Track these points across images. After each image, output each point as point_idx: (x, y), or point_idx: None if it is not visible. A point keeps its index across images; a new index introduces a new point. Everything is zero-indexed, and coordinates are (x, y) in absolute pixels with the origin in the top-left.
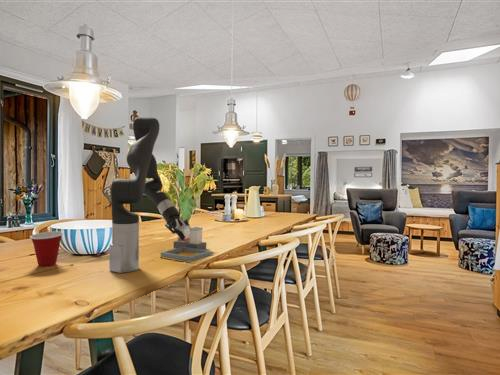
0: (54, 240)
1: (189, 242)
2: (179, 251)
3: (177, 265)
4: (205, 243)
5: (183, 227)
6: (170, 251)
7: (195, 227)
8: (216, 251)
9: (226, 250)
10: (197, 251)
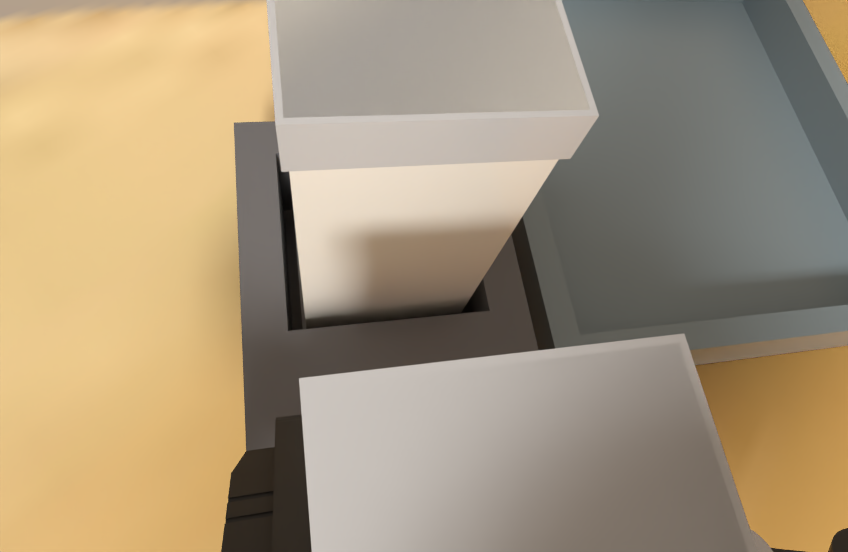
0: None
1: (441, 337)
2: None
3: (845, 41)
4: (258, 132)
5: (684, 390)
6: (820, 310)
7: (390, 42)
8: (188, 92)
9: (54, 34)
10: None
